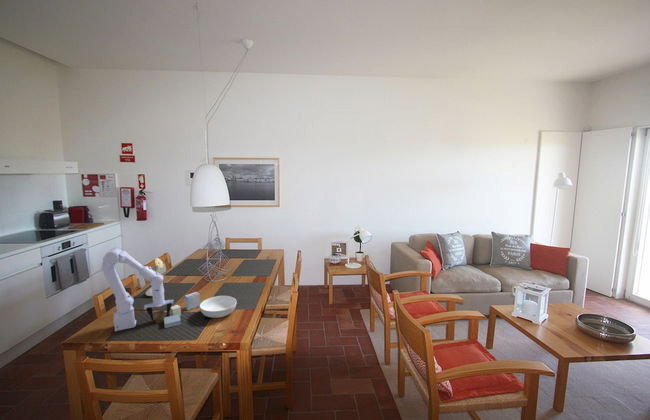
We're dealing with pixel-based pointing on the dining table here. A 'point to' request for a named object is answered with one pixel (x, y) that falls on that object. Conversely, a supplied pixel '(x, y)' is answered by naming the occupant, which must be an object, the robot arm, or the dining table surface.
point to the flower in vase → (159, 265)
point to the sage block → (175, 310)
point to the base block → (172, 321)
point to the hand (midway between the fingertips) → (160, 317)
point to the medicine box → (192, 300)
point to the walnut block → (159, 316)
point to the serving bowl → (218, 306)
